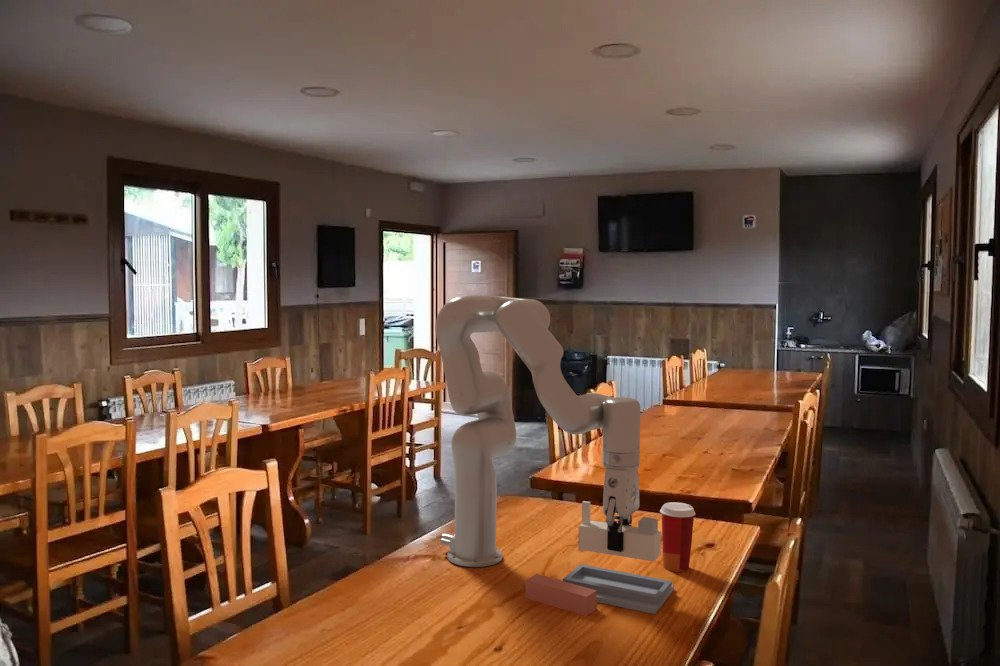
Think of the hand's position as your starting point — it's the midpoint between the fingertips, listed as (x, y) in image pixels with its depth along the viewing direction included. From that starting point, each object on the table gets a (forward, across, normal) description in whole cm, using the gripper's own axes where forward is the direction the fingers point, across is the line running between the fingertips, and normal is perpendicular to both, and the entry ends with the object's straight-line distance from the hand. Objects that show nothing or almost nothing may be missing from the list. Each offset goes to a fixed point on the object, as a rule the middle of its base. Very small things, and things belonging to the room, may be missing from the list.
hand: (619, 545), depth 164 cm
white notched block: (+1, 0, 0) cm, 1 cm away
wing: (+10, -11, +8) cm, 17 cm away
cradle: (+10, 0, 0) cm, 10 cm away
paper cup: (+10, +20, -7) cm, 23 cm away
